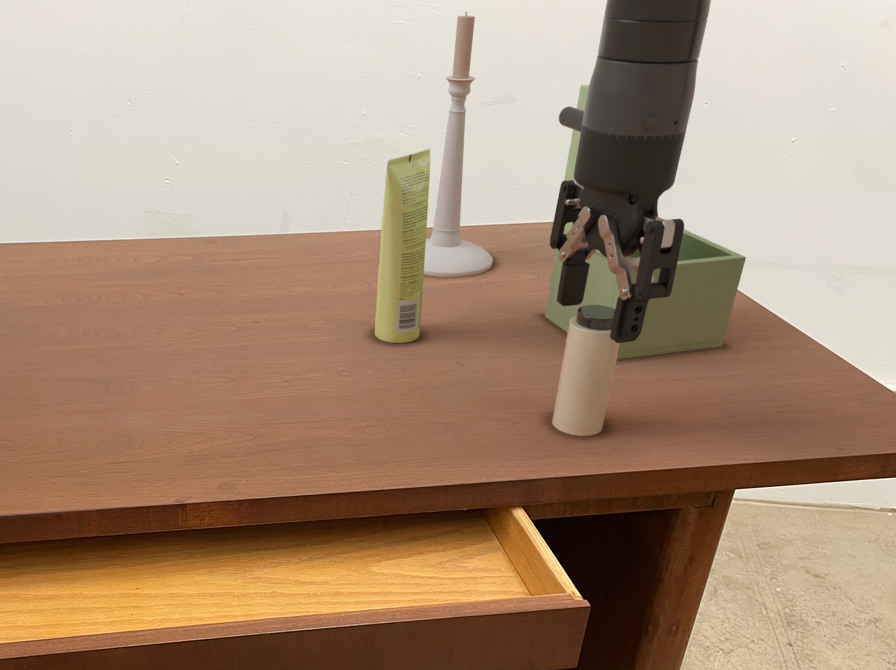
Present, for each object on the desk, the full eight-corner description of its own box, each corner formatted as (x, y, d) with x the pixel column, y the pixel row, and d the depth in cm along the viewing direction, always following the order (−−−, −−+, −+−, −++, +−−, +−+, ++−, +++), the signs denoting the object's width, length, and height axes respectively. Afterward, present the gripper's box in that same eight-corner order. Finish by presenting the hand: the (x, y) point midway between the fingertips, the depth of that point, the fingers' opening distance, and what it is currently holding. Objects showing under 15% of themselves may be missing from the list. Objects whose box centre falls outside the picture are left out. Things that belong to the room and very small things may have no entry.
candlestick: (501, 277, 118) (535, 16, 102) (401, 278, 118) (419, 17, 103) (481, 246, 129) (509, 6, 113) (389, 247, 129) (404, 7, 113)
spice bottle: (585, 412, 86) (607, 300, 81) (611, 434, 83) (636, 318, 77) (542, 418, 86) (561, 305, 80) (567, 440, 82) (589, 323, 76)
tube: (371, 326, 105) (381, 147, 95) (416, 325, 105) (430, 146, 95) (376, 345, 100) (387, 160, 90) (423, 345, 100) (439, 159, 90)
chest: (650, 305, 109) (669, 222, 104) (721, 347, 98) (746, 257, 93) (544, 317, 106) (558, 232, 101) (605, 362, 96) (624, 269, 91)
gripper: (739, 137, 65) (685, 349, 74) (625, 103, 77) (589, 289, 86) (645, 144, 64) (600, 359, 72) (543, 107, 76) (515, 296, 84)
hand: (594, 321), depth 79 cm, fingers open, 8 cm apart
